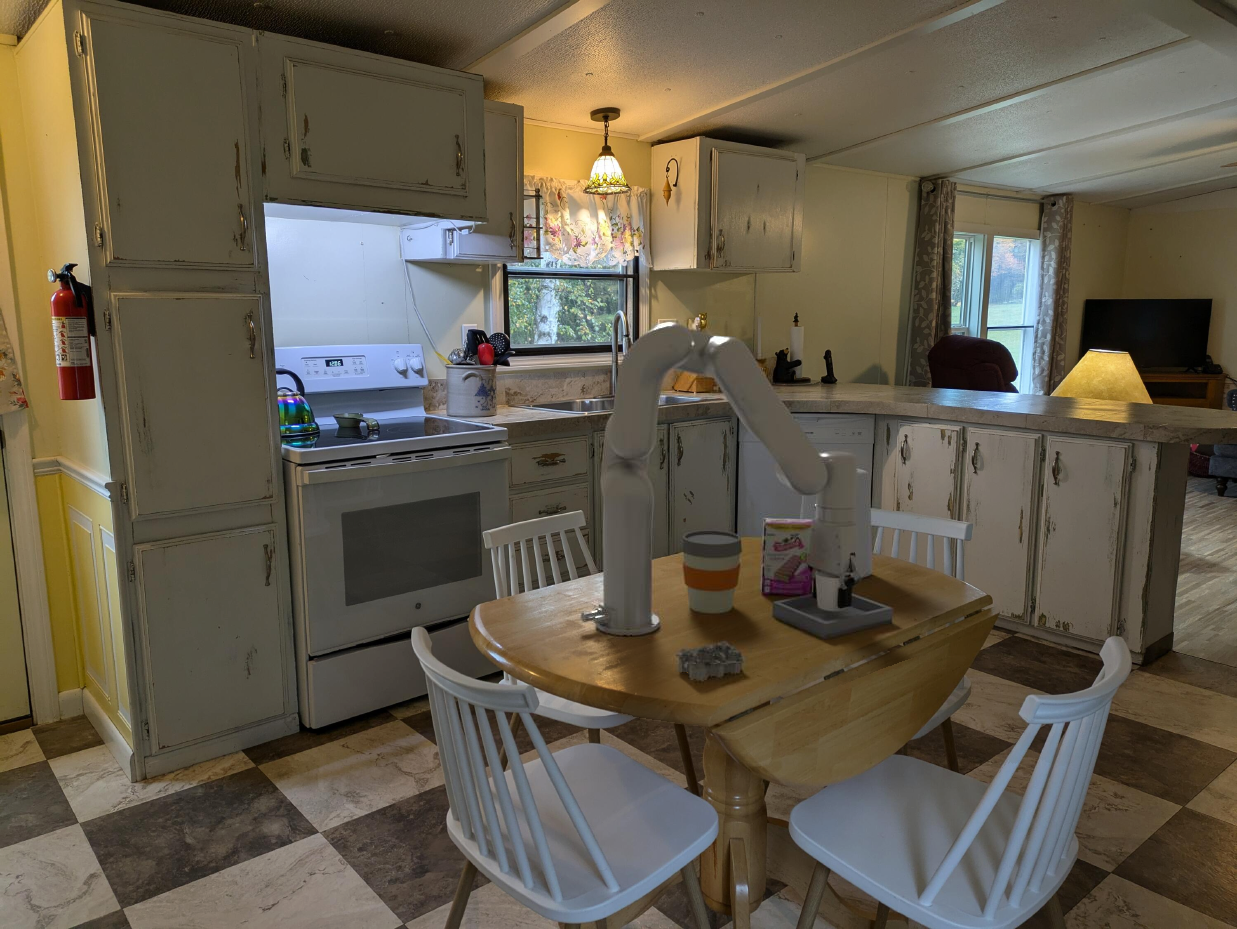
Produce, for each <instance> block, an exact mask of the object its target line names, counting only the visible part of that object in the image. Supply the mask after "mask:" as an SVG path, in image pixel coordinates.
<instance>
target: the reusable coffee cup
mask: <svg viewBox="0 0 1237 929" xmlns="http://www.w3.org/2000/svg"><path fill="white" fill-rule="evenodd" d="M681 551H682V553H683V561H682V570H683V578H684V579H683V580H684V584H685V586H687V588H686V589H687V595H688V604H689V608H690V609H691V610H693V611H694V612H699V613H702V614H703V613H704V614H722V613H726V612H729V611H730V610H731V611H732V608H733V604H734V597H735V590H736V587H737V586H738V583H739V578H740V577H739V576H740V570H741V563H740V555H741V554H742V552H743V549H742V538H741V536H740V535H738V534H737V533H733V532H730V531H723V530H715V529H714V530H713V529H711V530H709V529H708V530H697V531H696V530H695V531H690V532H689V531H688V532H686V533H684V534H683V535H682V542H681Z"/></svg>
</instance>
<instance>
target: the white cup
mask: <svg viewBox="0 0 1237 929" xmlns="http://www.w3.org/2000/svg"><path fill="white" fill-rule="evenodd" d="M815 574H816V589H817V604H818V607H819V608H820V609H823V610H827V611H842V610H845V609H846V607H845V608H838V606H837V605H838V588H841V586H840V582H839V578H838V576H837V575H833V574H830V573H827V572H824V571H822V570H819V571H816V573H815ZM845 580H846V581H847V580H848V576H847V575H845Z"/></svg>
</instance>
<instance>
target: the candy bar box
mask: <svg viewBox="0 0 1237 929" xmlns="http://www.w3.org/2000/svg"><path fill="white" fill-rule="evenodd" d="M812 521H813V520H810V519H800V518H777V517H776V518H775V517H772V518H771V517H764V518H762V533H761V534H762V535H761V537H762V538H761V539H762V540H761V561H760V591H761V592H760V593H761V594H762V595H775V596H804V595H809V594H813V579H812V577H811V572H810V570H809V568H808V565H807V563H806V561H805V559H804V555H805V554H806V553H807V551H808V541H809V533H810V528H811V524H812Z"/></svg>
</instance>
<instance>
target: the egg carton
mask: <svg viewBox="0 0 1237 929" xmlns="http://www.w3.org/2000/svg"><path fill="white" fill-rule="evenodd" d="M675 657H676V658H678V671H679V672H680V671H681V672H688V673H687V674H688V678H691V679H692V680H691V679H690V680H691V681H694V680H693V679H696V680H695V681H699V680H706V681H708V678H710V677H709V676H711V677H712V676H717V677H716V678H718V677H720V678H723V677H724V675H725V674H734V673H735V675H737V674H736V673H739V674H741V671H742V670H743V664H744V660H747V657H746V656H743V655H742V652H741V651H738V650H737V649H736V648H734V646H733V645H730V644H729V643H728V642H727V641H726V640H723V641H721V642H719V643H716V644H710V645H709V646H707V645H706V644H704V645H703V646H700V647H695V648H692V649H691V648H690V649H689V648H682V649H680V650H679V651H678V652H677V653H676V654H675ZM681 672H680V673H681ZM729 672H730V673H729ZM724 673H725V674H724ZM722 676H723V677H722Z"/></svg>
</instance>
